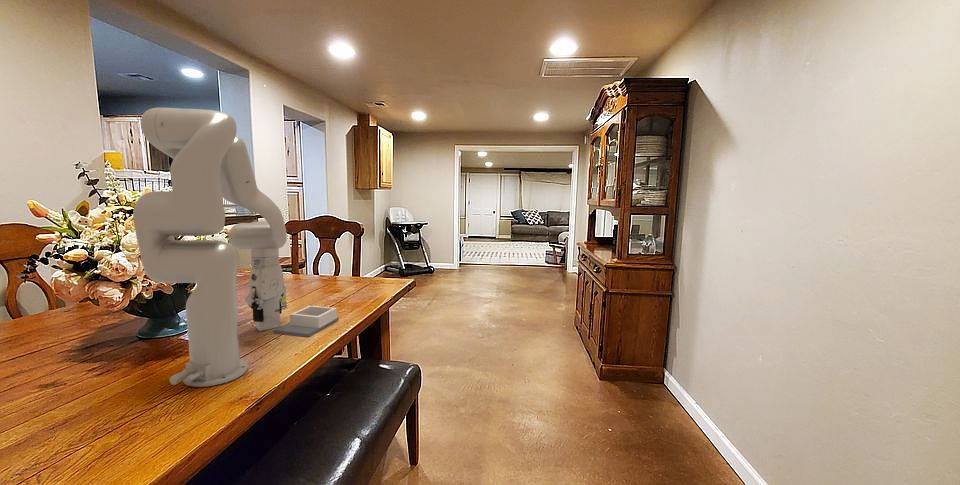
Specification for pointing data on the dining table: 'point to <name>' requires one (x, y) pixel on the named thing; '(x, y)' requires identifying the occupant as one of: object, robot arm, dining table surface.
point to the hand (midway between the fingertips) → (267, 317)
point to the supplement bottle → (283, 301)
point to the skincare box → (270, 314)
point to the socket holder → (308, 321)
